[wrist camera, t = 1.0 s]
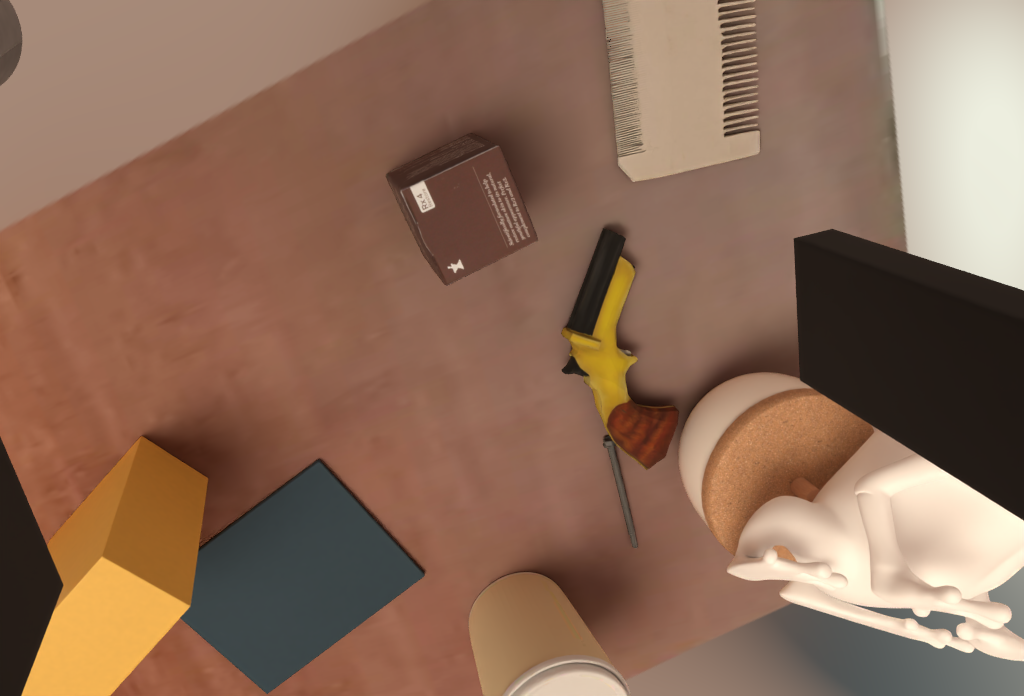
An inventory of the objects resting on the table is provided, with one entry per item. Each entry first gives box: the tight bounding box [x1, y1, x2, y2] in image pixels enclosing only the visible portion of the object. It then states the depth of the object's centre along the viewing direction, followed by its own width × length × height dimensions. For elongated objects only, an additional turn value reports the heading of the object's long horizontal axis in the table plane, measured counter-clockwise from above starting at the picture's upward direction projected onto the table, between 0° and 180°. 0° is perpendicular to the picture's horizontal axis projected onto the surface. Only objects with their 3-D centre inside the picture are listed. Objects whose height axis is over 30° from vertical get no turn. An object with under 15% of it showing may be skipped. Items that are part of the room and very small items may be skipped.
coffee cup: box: [468, 572, 631, 696], centre depth 60 cm, size 9×9×12 cm
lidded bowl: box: [678, 372, 874, 562], centre depth 60 cm, size 13×13×11 cm
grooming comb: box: [602, 0, 760, 182], centre depth 54 cm, size 18×10×1 cm, turn 8°
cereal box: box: [21, 436, 208, 696], centre depth 49 cm, size 5×9×14 cm, turn 136°
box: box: [386, 133, 538, 286], centre depth 51 cm, size 6×6×7 cm
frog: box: [727, 429, 1024, 661], centre depth 50 cm, size 21×16×25 cm
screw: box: [603, 436, 638, 548], centre depth 64 cm, size 10×1×1 cm, turn 15°
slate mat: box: [180, 459, 425, 694], centre depth 59 cm, size 12×14×1 cm
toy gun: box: [561, 228, 679, 470], centre depth 59 cm, size 4×15×10 cm
